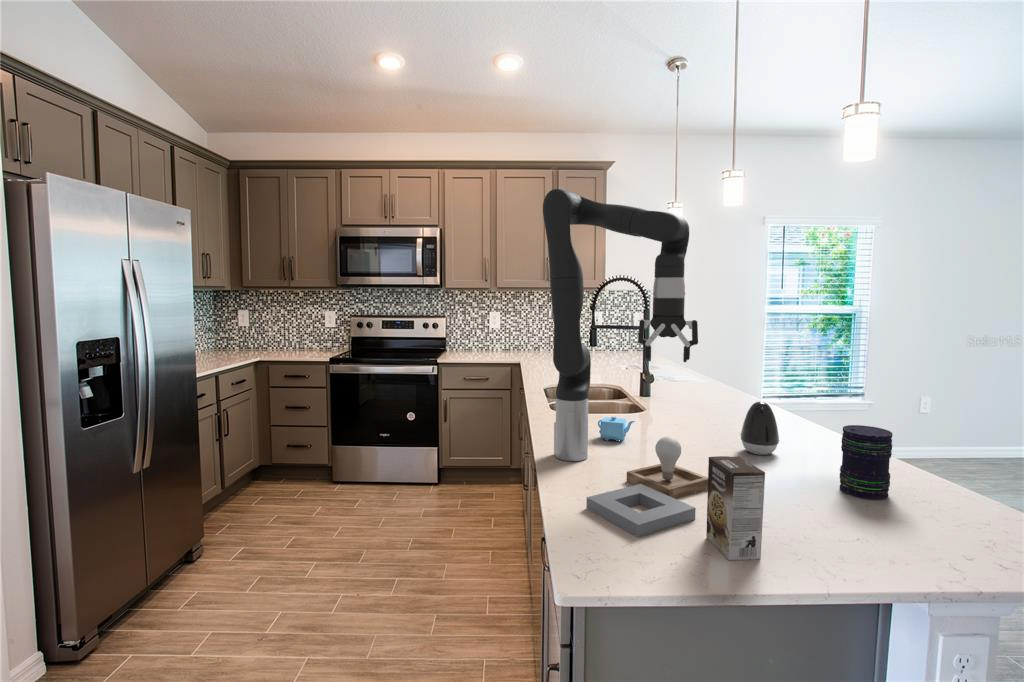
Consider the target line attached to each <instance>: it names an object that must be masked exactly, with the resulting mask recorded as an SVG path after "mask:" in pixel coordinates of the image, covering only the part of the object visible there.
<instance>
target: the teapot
mask: <svg viewBox="0 0 1024 682" xmlns="http://www.w3.org/2000/svg"><path fill="white" fill-rule="evenodd" d="M634 422H636V420H630V421H629V422H628V423H627V418H619V417H616V416H615V415H613V416H610V417H607V416H606V417H605V416H604V417H603V418H602V419H599V420H598V421H597V426H598V428H599V435H600V439H603V440H609V441H610V440H616V441H619V440H620V441H624V439H625V438H626V436H627V433H628V432H629V431H630V428H631V426H632V424H633V423H634ZM616 441H615V442H616Z"/></svg>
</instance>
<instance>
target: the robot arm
mask: <svg viewBox="0 0 1024 682" xmlns="http://www.w3.org/2000/svg"><path fill="white" fill-rule="evenodd" d="M542 215H543V222H544V228H545V235H546V240H547V254H548V267H549V285H550V287H549V288H550V296H551V297H550V298H551V308H552V309H551V310H552V319H553V320H552V321H553V346H552V347H553V349H552V351H553V352H552V361H553V366H554V367H555V370H557V372H558V383H557V386H556V388H555V421H554V423H553V454H554V455H555V457H556V458H557V459H558V460H561V461H565V462H581V461H585V460H586V459H588V456H589V454H588V452H589V451H588V449H589V447H588V445H589V443H588V442H589V437H588V436H589V391H590V387H591V369H592V368H591V367H592V366H591V364H592V362H591V361H592V358H591V352H590V350H589V348H588V346H586V345H585V344H584V343H582V339H581V328H580V327H581V326H580V325H581V317H582V310H583V305H584V299H585V298H584V295H585V294H584V293H585V289H584V274H583V268H582V265H581V263H580V260H579V257H578V254H577V253H576V250H575V248H574V245H573V242H572V236H571V226H572V225H574V226H575V225H579V226H580V225H585V226H586V225H587V226H594V227H599V228H602V229H604V230H605V229H606V230H608V231H612V232H614V233H618V234H623V235H628V236H632V237H639V238H641V237H642V238H644V239H645V238H646V239H648V240H652V241H655V242H656V241H657V242H659V243H661V248H660V253H659V254H658V255H657V256H656V258H655V261H654V281H653V286H652V288H653V289H652V317H651V320H649V319H648V320H647V319H644V318H643V319H640V320H639V325H638V336H637V342H638V344H639V345H640V344H641V345H644V347H645V351H644V352H645V354H644V355H645V356H644V357H645V359H646V360H647V361H648V362H652V345H651V344H652V343H653V342H654V341H655V340H656V339H657V338H658V337H660V338H667V337H669V338H676V337H678V339H679V340H680V341H681V342H682V344H683V345H684V346H683V354H682V356H683V360H682V361H683V363H687V361H689V360H690V358H691V357H690V356H691V347H692V346H696V345H698V344H699V332H698V331H699V330H698V321H697V320H696V319H693V320H686V319H685V303H686V302H685V301H686V300H685V299H686V298H685V296H686V285H685V267H686V266H685V260H686V256H687V255H686V254H687V250H688V245H689V241H690V226H689V222H688V221H687V220H686V218H684V217H683V216H680V215H678V214H674V213H672V212H666V211H665V212H664V211H657V210H648V209H644V208H640V207H636V206H630V205H626V204H625V205H623V204H614V203H612V204H611V203H602V202H599V201H596V200H595V201H594V200H592V199H588V198H587V197H584V196H582V195H579V194H577V193H576V192H574V191H573V192H572V191H569V190H565V189H561V188H553V189H551V190H550V191H548V192H547V193H546V195H545V196H544V199H543V203H542ZM649 325H650V326H651V328H652V329H653V332H652V333H651V334H650V336H649V337H648V338H647V339H644V336H645V335H644V334H645V329H647V328H648V326H649ZM686 326H687V327H688V329H689V330H691V339H690V340H688V339H687V337H686V336H685V335H684V334H683V332H682V331H683V329H684V328H685V327H686Z"/></svg>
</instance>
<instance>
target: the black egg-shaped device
mask: <svg viewBox="0 0 1024 682" xmlns="http://www.w3.org/2000/svg"><path fill="white" fill-rule="evenodd" d="M740 440H741V443H742V445H743V448H744V449H745V450H746V451H747V452H749V453H751V454H753V455H757V456H758V455H759V456H767V455H770V454H772V453H774V451H776V449H777V447H778V444H779V443H780V435H779V428H778V424H777V421H776V417H775V413H774V411H773V409H772V408H771V406H770V405H769V404H768V403H766V402H765V401H756V402H754V403H752V404H751V405H750V407H749V409H748V411H747V412H746V414H745V418H744V420H743V424H742V428H741V432H740Z"/></svg>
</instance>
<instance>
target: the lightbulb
mask: <svg viewBox="0 0 1024 682" xmlns="http://www.w3.org/2000/svg"><path fill="white" fill-rule="evenodd" d="M654 449H655V453H656V456H657V457H658V459H659V464H661V470H662V477H663V479H665V480H666V481H670V480H672V479H673V472H674V470H675V466H676V464H677V461H678V460H679V458H680V457H681V455H682V446H681V443H680V442H679V441H678V440H677V439H676V438H674V437H672V436H663V437H661V438H660V439H659V440H657V442H656V444H655V447H654Z"/></svg>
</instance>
